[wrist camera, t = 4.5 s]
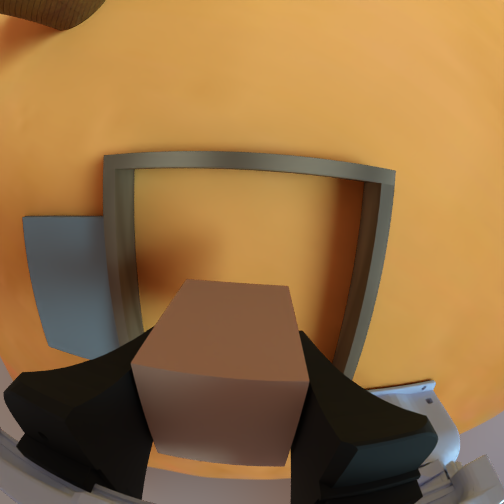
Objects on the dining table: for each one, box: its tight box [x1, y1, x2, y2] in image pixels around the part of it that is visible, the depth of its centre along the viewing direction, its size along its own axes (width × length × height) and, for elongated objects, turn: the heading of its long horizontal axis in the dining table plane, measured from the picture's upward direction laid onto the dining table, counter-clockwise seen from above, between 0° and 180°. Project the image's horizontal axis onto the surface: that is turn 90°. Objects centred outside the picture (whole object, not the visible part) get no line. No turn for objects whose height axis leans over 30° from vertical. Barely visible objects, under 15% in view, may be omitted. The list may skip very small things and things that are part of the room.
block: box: [131, 279, 309, 466], centre depth 9 cm, size 4×4×6 cm
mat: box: [23, 216, 120, 360], centre depth 17 cm, size 10×12×1 cm
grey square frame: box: [103, 151, 396, 380], centre depth 16 cm, size 16×16×2 cm
